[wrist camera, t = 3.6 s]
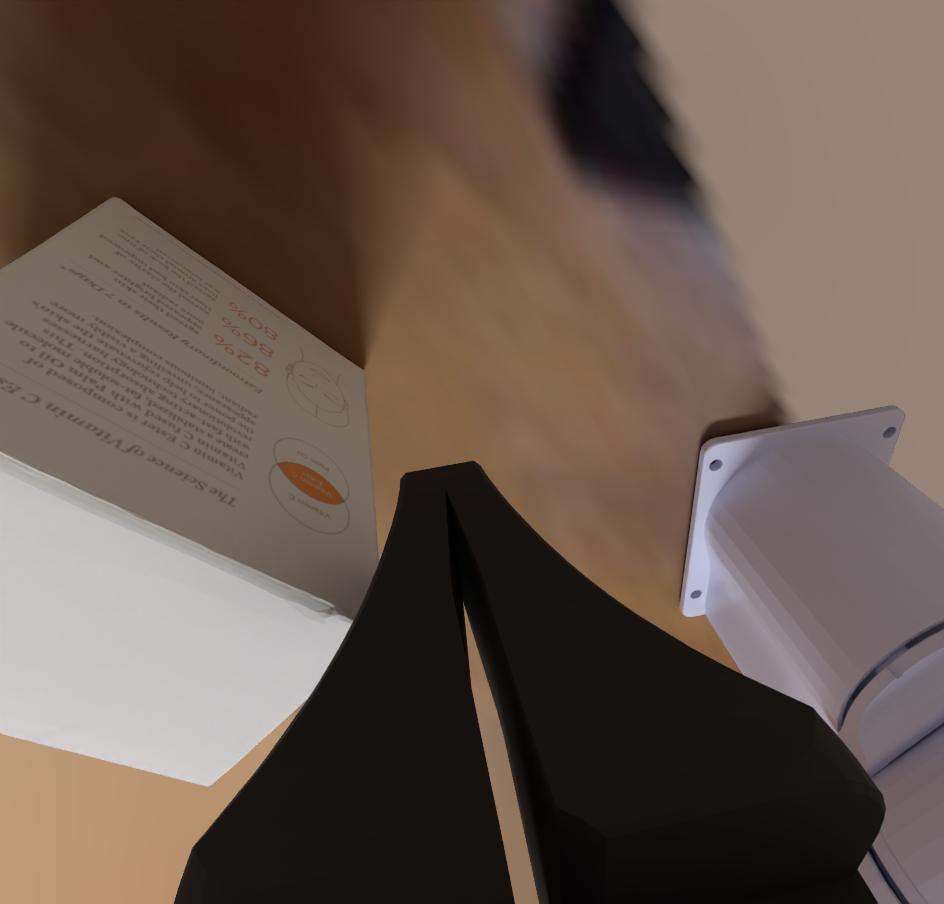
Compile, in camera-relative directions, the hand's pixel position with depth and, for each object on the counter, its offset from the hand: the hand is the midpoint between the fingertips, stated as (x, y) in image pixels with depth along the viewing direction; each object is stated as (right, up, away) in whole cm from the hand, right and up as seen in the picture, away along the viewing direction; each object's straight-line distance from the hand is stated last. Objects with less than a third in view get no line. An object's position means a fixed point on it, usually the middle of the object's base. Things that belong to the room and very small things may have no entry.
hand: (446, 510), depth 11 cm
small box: (-7, +4, +7) cm, 11 cm away
